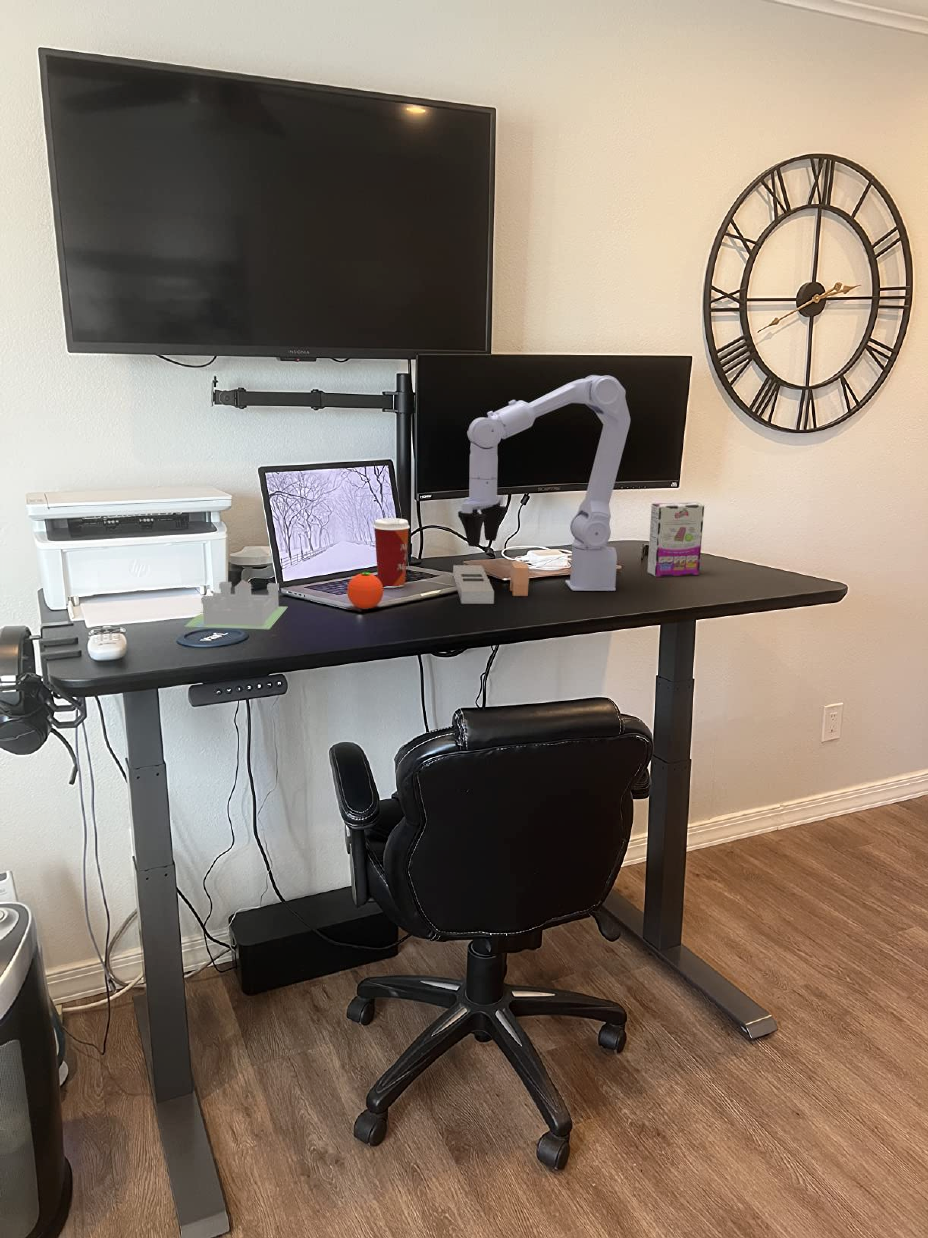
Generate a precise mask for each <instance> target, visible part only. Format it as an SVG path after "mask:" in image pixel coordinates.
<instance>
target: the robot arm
mask: <svg viewBox="0 0 928 1238" xmlns="http://www.w3.org/2000/svg"><path fill="white" fill-rule="evenodd" d="M569 404H585V406H587V407H588V408H589V409H591V410H593V411H594V412H595V414H596V416H597V417H598V419H599V420H600V421H601V423H602V424H603V425H602V430H601V434H600V438H599V442H598V445H597V450H596V454H595V458H594V462H593V466H592V470H591V474H590V477H589V481H588V484H587V485H588V486H587V489H586V493H585V497H584V499H583V500H582V502H581V503H580V505H579V506H578V511H577V513H576V514H575V515H574V517H573V518H572V520H571V521H570V525H569V530H570V533H571V535H572V536H573V537H574V540H573V541H572V542H571V544H572V545H571V556H570V557H571V559H570V575H569V577H570V578H569V579H567V580H565V584H566V585H567V586H568V587H569V588H570V589H571V591H575V592H576V591H579V592H580V591H584V592H585V591H589V592H591V591H592V592H595V591H597V592H598V591H601V592H603V591H606V592H612V591H613V592H614V591H616V582H617V581H616V580H617V578H616V577H617V565H618V556H617V550H616V548H615V546H614V547H613V546H607V544H608V542H609V540H610V538H611V533H612V532H611V525H610V521H611V517H612V515H611V509H610V501H611V498H612V494H613V492H614V491H613V490H614V488H615V487H614V486H615V483H616V479H617V476H618V475H617V474H618V471H619V469H620V468H619V467H620V464H621V460H622V455H623V452H624V448H625V445H626V440H627V437H628V436H627V435H628V432H629V429H630V425H631V416H630V411H629V408H628V405H627V400H626V389H625V388H624V387H623V386H622V384H621V382H620V381H619V380H618V379H617V378H616V377H614V376H611V375H597V374H591V375H588V376H586V377H585V378H580V379H576V380H574V381H571V382H568V383H566V384H564V385H562V386H560V387H558V388H556V389H555V390H553V391H551V392H549V393H546V394H545V395H543V396H541V397H539V398H537V399H535V400H533V401H531V402H526V401H524V400H518V401H517V400H516V399H512V400H510V401H508V405H507V406H505V407H502V408H500V409H498V410H495V411H494V412H493V410H490V411H488V412H487V413H486V415H487V417H481V416H480V417H477V418H475V419H474V420H473V421H472V422H471V423H470V424H469V427H468V430H467V432H466V434H467V437H468V440H469V441H470V448H469V450H470V454H469V483H468V484H469V486H468V488H469V491H468V492H469V495H468V497H464V501H463V502H462V503H461V510H460V511H458V512H457V517H458V518H459V520H460V522H461V524H462V526H463V529H464V533H465V537H466V541H467V545H468V547H475V548H478V547H480V546H479V545H480V541H481V533H482V528H483V532H484V539H485V541H489V542H491V541H492V542H495V541H496V540H497V537H498V534H499V528H500V525H501V522H502V520H503V518H504V515H505V514H506V512H507V506H505V505H504V503H503V502H504V495H502V494H501V495H500V494H498V466H499V465H498V463H499V459H498V458H499V456H498V444H499V443H500V442H501V439H502V440H506V439H507V438H509V437H512V436H514V435H516V434H518V433H520V432H523V431H525V430H527V429H529V428H531V427H532V426H533V424H534V422H535V420H536V418H538V417H540V416H543V415H545V414H548V413H550V412H553V411H555V410H557V409H560V408H562V407H565V406H567V405H569ZM503 505H504V506H503ZM479 511H480V512H479Z"/></svg>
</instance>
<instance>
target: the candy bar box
mask: <svg viewBox="0 0 928 1238" xmlns="http://www.w3.org/2000/svg"><path fill="white" fill-rule="evenodd" d="M650 509H651V511H650V525H649V539H648V556H647V557H648V558H647V573H648V575H651V576H654V577H656V578H659V577H660V578H663V577H666V576H667V577H686V576H688V577H689V576H699V574H700V565H701V563H700V562H701V551H702V540H703V539H702V538H703V527H704V513H705V505H704V504H702V503H699V502H666V503H664V502H663V503H661V502H660V503H656V502H655V503H651V508H650Z"/></svg>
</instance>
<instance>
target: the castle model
mask: <svg viewBox="0 0 928 1238" xmlns="http://www.w3.org/2000/svg"><path fill="white" fill-rule="evenodd" d="M218 588H219V590H220V592H215V593H214V594H213V595H203V596H201V598H200V599H201V600H200V602H201V604H202V611H203V612H202V611H200V613H203V614H200V613H199V614H200V615H198V614H197V615H196V616H195V617H193V618H192V619H191V620H190V621H188V623H187V624H186V625H184V627H185V628H208V629H209V628H212V629H214V628H215V629H246V630H247V629H248V630H249V629H250V630H270V629H271V628H272V627H273V625H274V624H275V623H276V622H277V621H278V619H279V618H280V617H281V616H282V614H284V613H285V612H286V610H287V608H288V606H279V589H280V583H279V582H278V583H275V582H269V583H268V584H267V585H266V590H267V591H268V594H252V584H251V583H249V582H248V581H245V580H244V579H241V580H240V581H239V583H237V584H236V585H235V586H234V587H232V581H221V582H220V583H218ZM232 588H234V593H231V592H232V590H231V589H232Z"/></svg>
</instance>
